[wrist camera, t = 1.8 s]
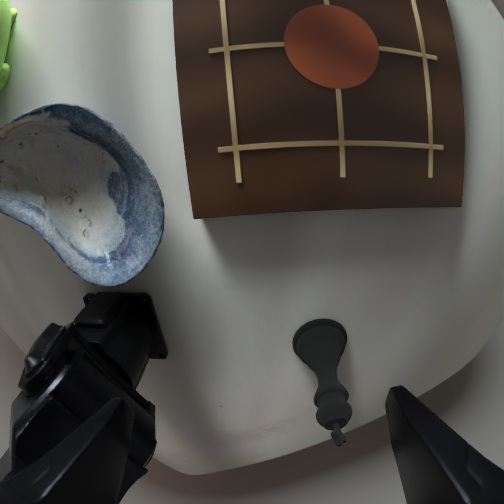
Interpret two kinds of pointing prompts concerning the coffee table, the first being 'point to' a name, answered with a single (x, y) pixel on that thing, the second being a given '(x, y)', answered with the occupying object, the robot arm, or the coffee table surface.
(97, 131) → the seashell
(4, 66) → the teapot
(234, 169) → the board
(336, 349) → the chess piece
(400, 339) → the coffee table surface
